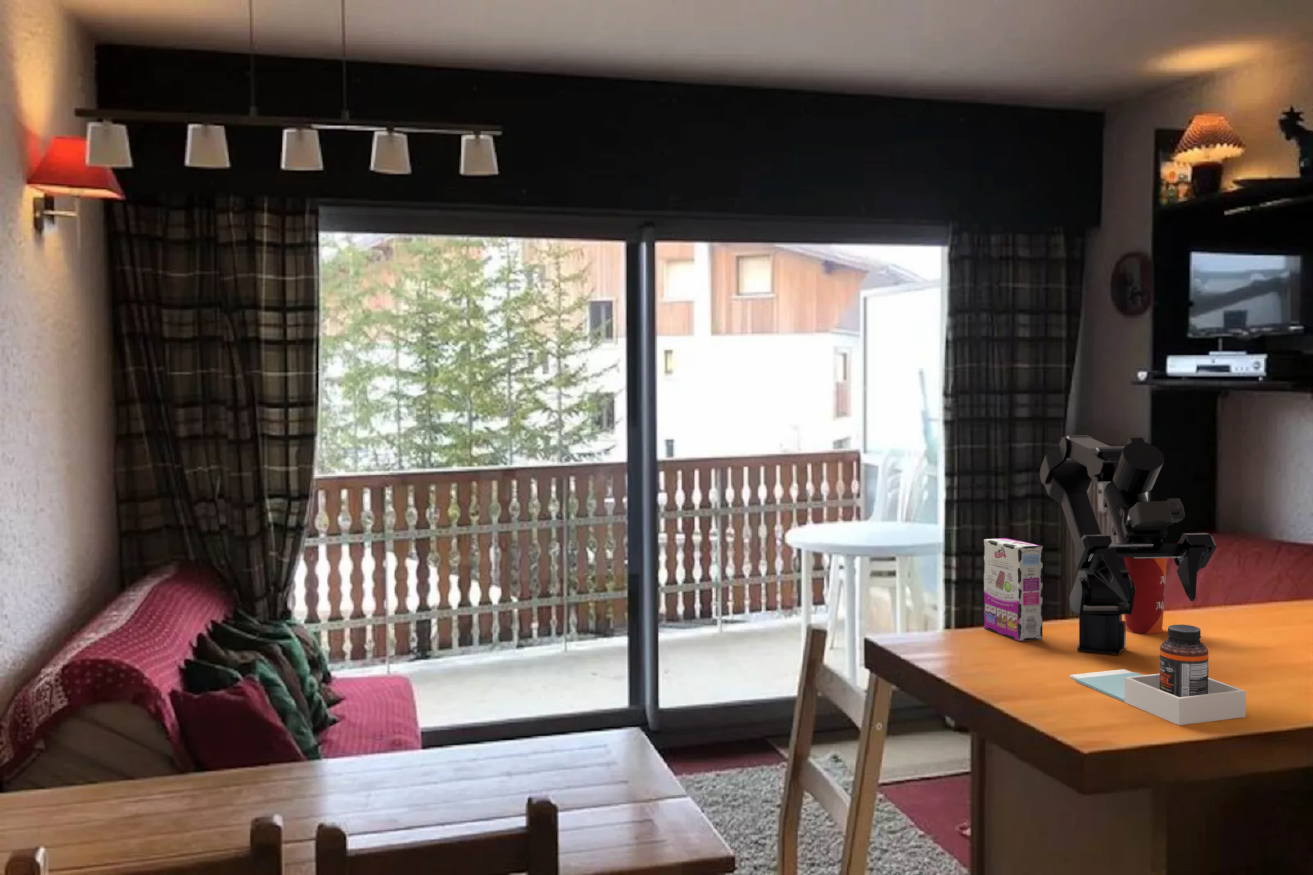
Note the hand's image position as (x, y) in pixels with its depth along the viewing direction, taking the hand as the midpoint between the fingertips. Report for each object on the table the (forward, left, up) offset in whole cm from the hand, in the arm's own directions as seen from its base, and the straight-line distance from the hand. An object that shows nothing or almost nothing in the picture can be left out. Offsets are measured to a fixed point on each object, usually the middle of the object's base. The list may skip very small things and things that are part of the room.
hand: (1160, 600), depth 154 cm
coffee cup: (-6, +39, -14) cm, 42 cm away
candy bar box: (-26, +27, -14) cm, 40 cm away
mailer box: (-1, -2, -13) cm, 14 cm away
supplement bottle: (+3, -7, -14) cm, 16 cm away
